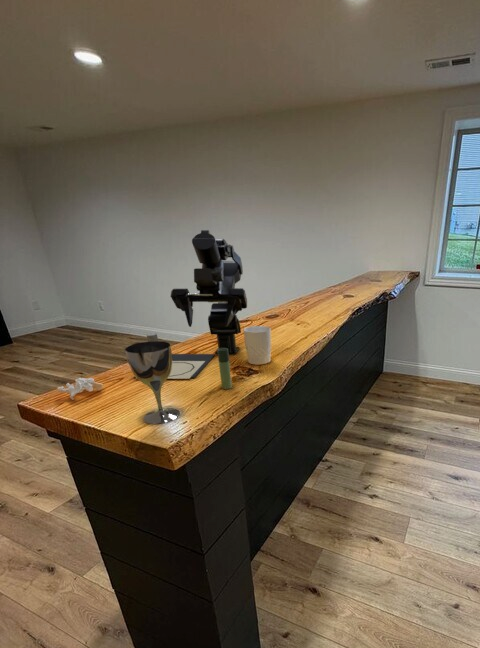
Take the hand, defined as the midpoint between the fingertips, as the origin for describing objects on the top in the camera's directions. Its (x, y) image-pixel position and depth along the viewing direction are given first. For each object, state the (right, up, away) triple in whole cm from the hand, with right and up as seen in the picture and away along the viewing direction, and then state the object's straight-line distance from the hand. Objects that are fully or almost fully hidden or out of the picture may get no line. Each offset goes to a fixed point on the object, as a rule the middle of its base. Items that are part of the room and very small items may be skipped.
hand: (208, 325), depth 89 cm
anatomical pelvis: (-27, -18, -7) cm, 33 cm away
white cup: (+10, -8, +16) cm, 21 cm away
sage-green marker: (+6, -16, -2) cm, 17 cm away
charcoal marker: (-17, -11, +8) cm, 21 cm away
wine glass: (-4, -22, -16) cm, 28 cm away
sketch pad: (-13, -10, +12) cm, 20 cm away
